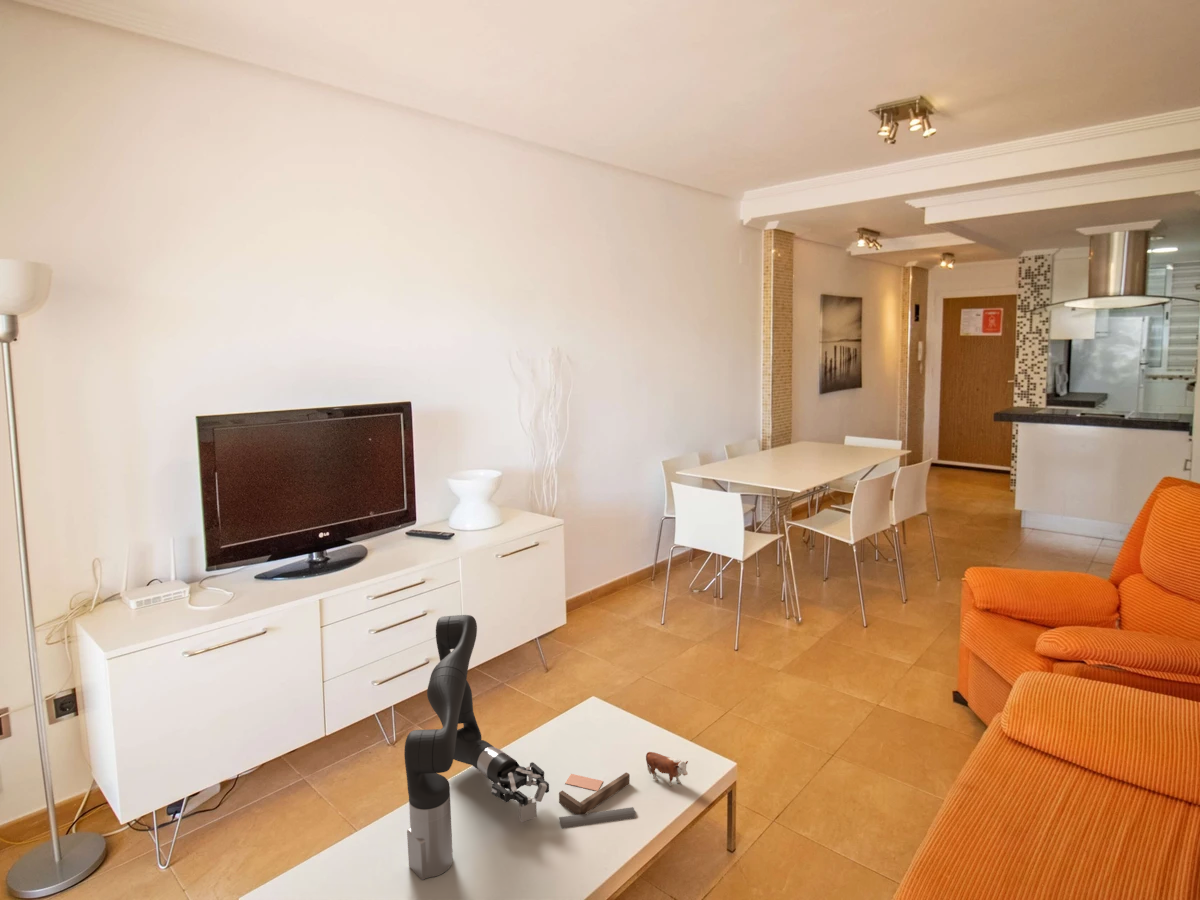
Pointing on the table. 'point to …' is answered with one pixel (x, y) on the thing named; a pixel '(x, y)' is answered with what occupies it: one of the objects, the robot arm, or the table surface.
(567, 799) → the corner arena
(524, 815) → the lighter
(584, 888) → the table surface
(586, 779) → the pad
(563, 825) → the gray half cylinder
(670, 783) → the bull figurine
